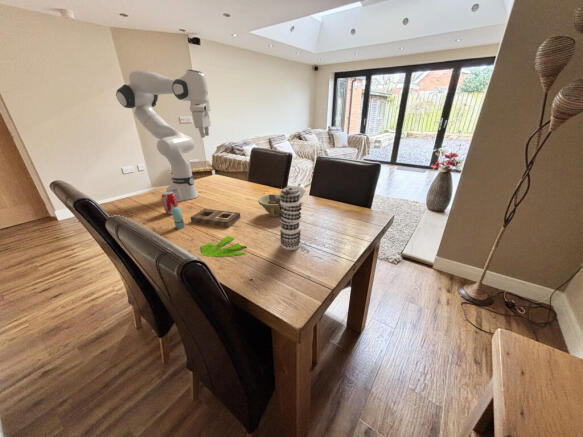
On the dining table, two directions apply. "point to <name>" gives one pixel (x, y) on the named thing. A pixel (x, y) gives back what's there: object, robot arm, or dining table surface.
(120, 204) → the dining table surface
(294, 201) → the decorative candle
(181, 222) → the peg
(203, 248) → the green glove
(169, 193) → the soda can
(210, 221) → the board
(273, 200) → the bowl
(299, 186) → the spinning top
